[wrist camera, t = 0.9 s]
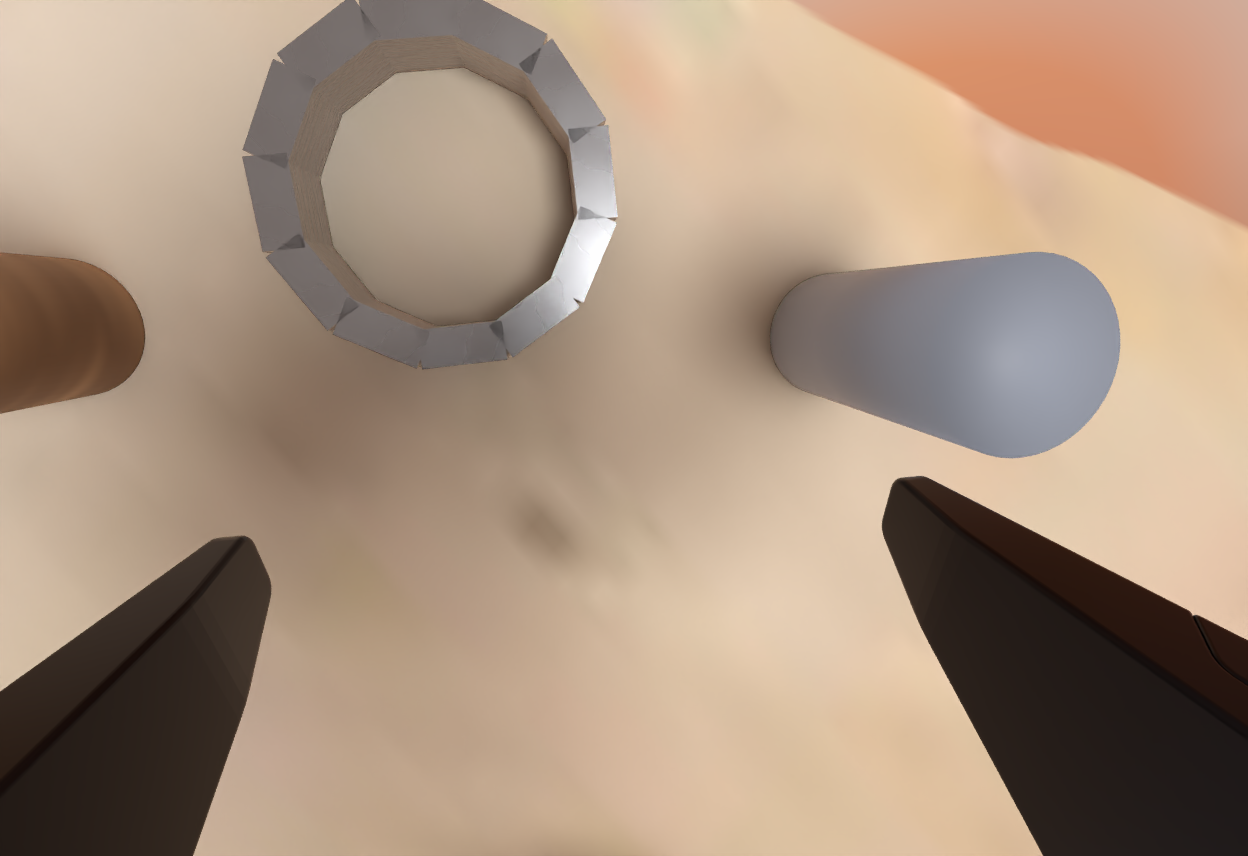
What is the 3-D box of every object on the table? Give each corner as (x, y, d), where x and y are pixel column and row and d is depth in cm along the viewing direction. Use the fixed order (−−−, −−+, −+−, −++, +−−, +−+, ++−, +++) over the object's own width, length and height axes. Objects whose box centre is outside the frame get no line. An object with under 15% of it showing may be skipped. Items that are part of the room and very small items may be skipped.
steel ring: (536, 404, 23) (535, 416, 20) (240, 282, 21) (199, 280, 18) (656, 121, 21) (669, 97, 19) (350, -36, 19) (321, -85, 17)
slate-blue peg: (851, 412, 24) (1056, 487, 14) (750, 366, 23) (892, 412, 14) (905, 304, 23) (1156, 304, 14) (803, 253, 23) (991, 216, 13)
